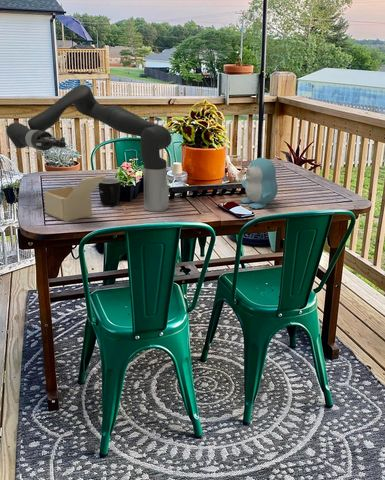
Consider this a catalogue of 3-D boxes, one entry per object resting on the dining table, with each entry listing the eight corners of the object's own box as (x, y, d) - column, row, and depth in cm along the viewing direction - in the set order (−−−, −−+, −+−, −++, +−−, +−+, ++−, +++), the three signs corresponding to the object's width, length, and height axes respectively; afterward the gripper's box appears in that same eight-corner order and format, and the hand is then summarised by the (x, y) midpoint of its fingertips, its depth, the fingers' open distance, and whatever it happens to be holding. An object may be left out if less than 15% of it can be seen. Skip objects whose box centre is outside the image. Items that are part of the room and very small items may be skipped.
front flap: (81, 179, 172) (82, 180, 172) (105, 174, 180) (106, 175, 180) (66, 198, 182) (67, 199, 182) (89, 193, 190) (90, 194, 189)
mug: (97, 201, 210) (96, 178, 207) (118, 200, 213) (117, 177, 210) (102, 210, 200) (101, 185, 196) (124, 208, 203) (123, 184, 199)
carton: (44, 213, 194) (42, 191, 191) (71, 206, 203) (70, 185, 200) (64, 222, 185) (63, 198, 182) (93, 214, 194) (91, 192, 191)
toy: (232, 198, 220) (235, 153, 213) (260, 195, 225) (264, 152, 218) (257, 213, 200) (261, 164, 192) (288, 210, 204) (292, 162, 197)
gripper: (22, 132, 189) (47, 136, 178) (52, 128, 198) (77, 133, 187) (24, 151, 192) (49, 157, 181) (54, 147, 201) (79, 152, 190)
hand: (63, 145), depth 184 cm, fingers closed
